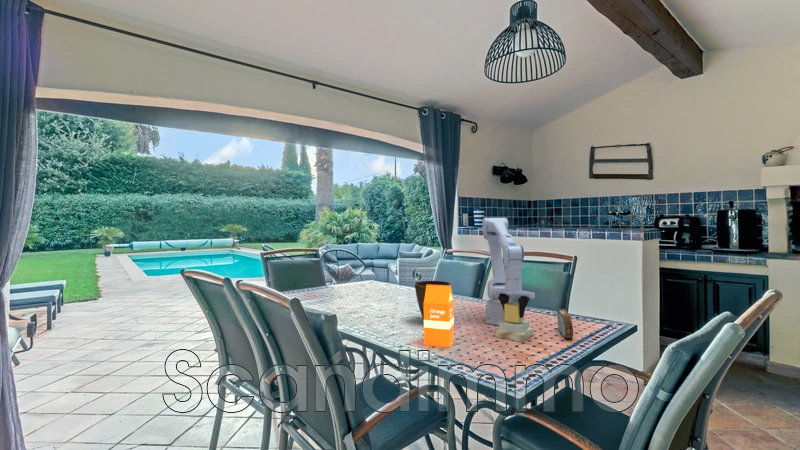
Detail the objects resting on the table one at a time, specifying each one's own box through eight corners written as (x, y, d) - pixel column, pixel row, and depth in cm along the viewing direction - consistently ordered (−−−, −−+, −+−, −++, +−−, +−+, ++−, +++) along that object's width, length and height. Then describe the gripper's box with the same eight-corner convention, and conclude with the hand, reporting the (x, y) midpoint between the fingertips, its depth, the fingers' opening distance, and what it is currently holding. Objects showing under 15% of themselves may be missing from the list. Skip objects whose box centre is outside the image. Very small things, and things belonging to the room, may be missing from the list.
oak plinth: (495, 336, 128) (495, 329, 128) (506, 329, 135) (506, 323, 135) (523, 342, 121) (522, 335, 121) (532, 334, 129) (532, 327, 129)
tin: (574, 341, 121) (573, 317, 121) (564, 341, 122) (563, 316, 122) (564, 328, 136) (564, 306, 136) (556, 328, 136) (555, 306, 136)
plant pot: (432, 314, 159) (431, 279, 159) (458, 321, 148) (457, 283, 147) (407, 321, 149) (407, 283, 149) (433, 329, 138) (433, 288, 138)
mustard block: (504, 320, 128) (504, 304, 128) (510, 317, 132) (509, 301, 132) (518, 323, 125) (518, 306, 125) (523, 319, 129) (523, 303, 128)
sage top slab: (499, 329, 128) (499, 322, 128) (507, 324, 134) (507, 317, 134) (521, 333, 123) (521, 326, 123) (529, 328, 129) (529, 321, 129)
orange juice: (449, 347, 117) (448, 287, 117) (423, 345, 120) (422, 286, 120) (454, 340, 125) (453, 283, 125) (430, 337, 128) (429, 282, 128)
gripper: (489, 278, 130) (490, 315, 130) (529, 282, 120) (530, 321, 121) (498, 275, 135) (498, 311, 135) (536, 279, 126) (537, 317, 126)
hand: (514, 315), depth 128 cm, fingers closed on mustard block, 5 cm apart
